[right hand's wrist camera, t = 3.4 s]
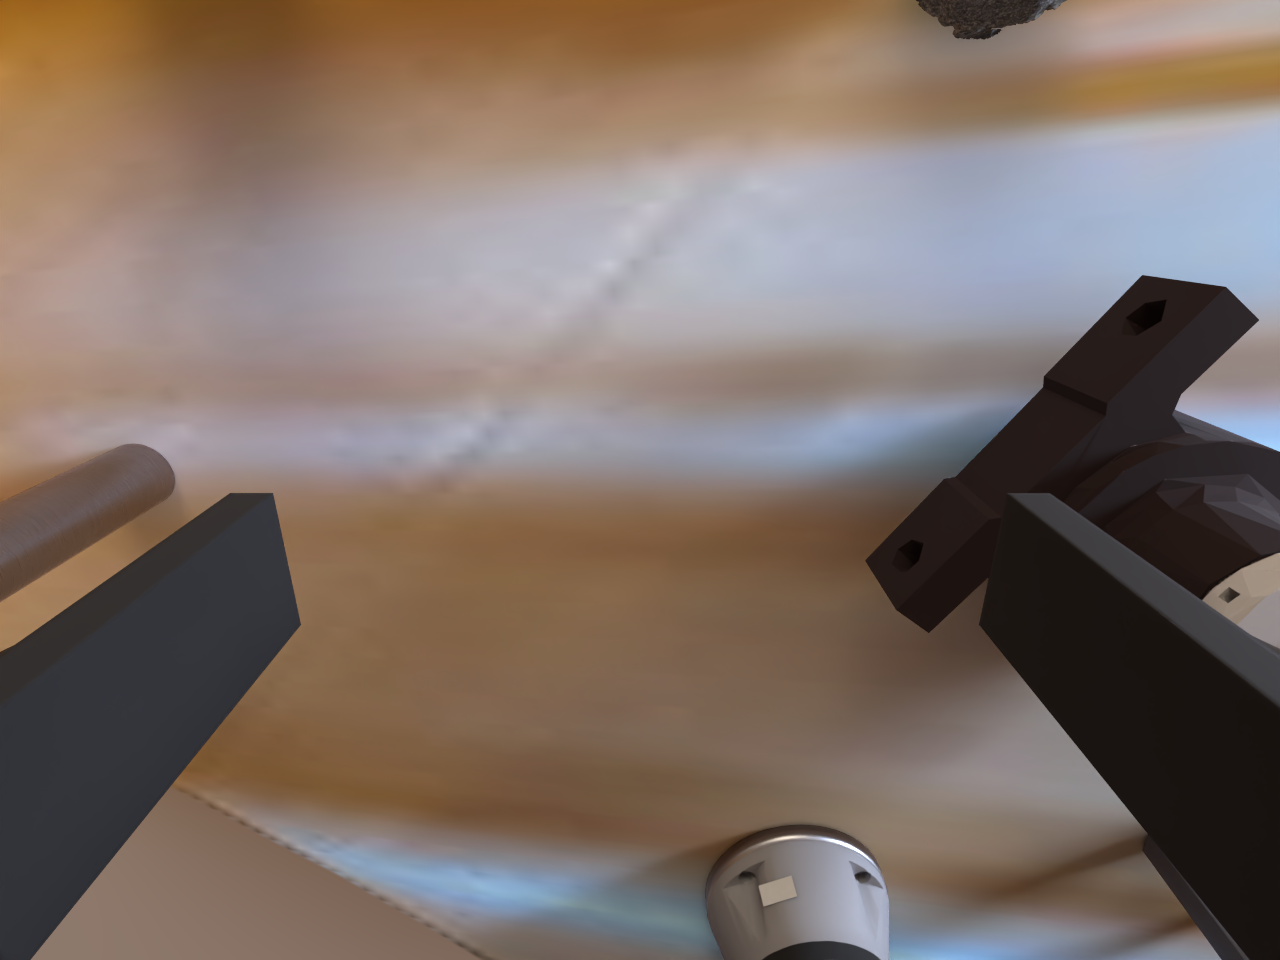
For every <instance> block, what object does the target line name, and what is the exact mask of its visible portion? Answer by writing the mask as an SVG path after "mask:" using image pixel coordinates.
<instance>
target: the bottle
mask: <svg viewBox="0 0 1280 960" xmlns="http://www.w3.org/2000/svg"><path fill="white" fill-rule="evenodd" d="M174 482H175V481H174V474H173V471H172V469H171V467H170V465H169V463H168V462H167V461H166V459H165V458H164V457H163V456H162V455H160V454H159V453H158V452H156V451H155V450H153V449H151V448H149V447H147V446H144V445H139V444H126V445H123V446H120V447H118V448H116V449H113V450H111V451H109V452H107V453H105V454H103V455H101V456H98V457H96V458H94V459H92V460H90V461H88V462H86V463H83V464H81V465H79V466H77V467H75V468H73V469H71V470H68V471H66V472H64V473H62V474H60V475H58V476H55V477H53V478H51V479H49V480H47V481H45V482H43V483H40V484H38V485H36V486H34V487H32V488H30V489H28V490H25V491H23V492H21V493H19V494H17V495H15V496H13V497H10V498H8V499H6V500H4V501H2V502H0V602H1V601H3V600H4V599H6V598H8V597H9V596H11V595H12V594H14V593H16V592H17V591H19V590H21V589H22V588H24V587H25V586H27V585H29V584H30V583H32V582H33V581H35V580H37V579H38V578H40V577H41V576H43V575H45V574H46V573H48V572H49V571H51V570H53V569H54V568H56V567H58V566H59V565H61V564H62V563H64V562H66V561H67V560H69V559H70V558H72V557H74V556H75V555H77V554H78V553H80V552H82V551H83V550H85V549H86V548H88V547H90V546H91V545H93V544H95V543H96V542H98V541H99V540H101V539H103V538H104V537H106V536H107V535H109V534H111V533H112V532H114V531H115V530H117V529H119V528H120V527H122V526H123V525H125V524H127V523H128V522H130V521H132V520H133V519H135V518H136V517H138V516H140V515H141V514H143V513H144V512H146V511H148V510H149V509H151V508H152V507H154V506H156V505H157V504H159V503H160V502H162V501H164V500H165V499H166V498H168V497H169V496H170V494H171V493H172V491H173V488H174Z"/></svg>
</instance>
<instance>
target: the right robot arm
mask: <svg viewBox="0 0 1280 960" xmlns="http://www.w3.org/2000/svg"><path fill="white" fill-rule="evenodd" d="M300 625H301V623H300V618H299V614H298V609H297V604H296V599H295V595H294V590H293V585H292V581H291V576H290V571H289V566H288V562H287V557H286V552H285V548H284V543H283V538H282V533H281V529H280V524H279V519H278V515H277V510H276V505H275V500H274V496H273V493H230V494H228V495H227V496H226V497H224V498H223V499H221V500H220V501H218V502H217V503H216V504H214V505H213V506H211V507H210V508H208V509H207V510H206V511H204V512H203V513H201V514H200V515H199V516H197V517H196V518H194V519H193V520H191V521H190V522H189V523H187V524H186V525H184V526H183V527H182V528H180V529H179V530H177V531H176V532H174V533H173V534H172V535H170V536H169V537H167V538H166V539H165V540H163V541H162V542H160V543H159V544H157V545H156V546H155V547H153V548H152V549H150V550H149V551H147V552H146V553H145V554H143V555H142V556H140V557H139V558H138V559H136V560H135V561H133V562H132V563H130V564H129V565H128V566H126V567H125V568H123V569H122V570H121V571H119V572H118V573H116V574H115V575H113V576H112V577H111V578H109V579H108V580H106V581H105V582H103V583H102V584H101V585H99V586H98V587H96V588H95V589H94V590H92V591H91V592H89V593H88V594H86V595H85V596H84V597H82V598H81V599H79V600H78V601H77V602H75V603H74V604H72V605H71V606H69V607H68V608H67V609H65V610H64V611H62V612H61V613H60V614H58V615H57V616H55V617H54V618H52V619H51V620H50V621H48V622H47V623H45V624H44V625H42V626H41V627H40V628H38V629H37V630H35V631H34V632H33V633H31V634H30V635H28V636H27V637H25V638H24V639H23V640H21V641H20V642H18V643H17V644H16V645H14V646H11V647H9V648H7V649H5V650H3V651H1V652H0V960H31V958H32V957H33V956H34V955H35V953H36V952H37V951H38V950H39V948H40V947H41V946H42V945H43V943H44V942H45V941H46V940H47V939H48V937H49V936H50V935H51V934H52V932H53V931H54V930H55V929H56V927H57V926H58V925H59V924H60V922H61V921H62V920H63V919H64V917H65V916H66V915H67V914H68V912H69V911H70V910H71V909H72V908H73V906H74V905H75V904H76V903H77V901H78V900H79V899H80V898H81V896H82V895H83V894H84V893H85V891H86V890H87V889H88V888H89V887H90V885H91V884H92V883H93V882H94V880H95V879H96V878H97V877H98V875H99V874H100V873H101V872H102V870H103V869H104V868H105V867H106V865H107V864H108V863H109V862H110V860H111V859H112V858H113V857H114V856H115V854H116V853H117V852H118V850H119V849H120V848H121V847H122V846H123V844H124V843H125V842H126V841H127V839H128V838H129V837H130V836H131V834H132V833H133V832H134V831H135V829H136V828H137V827H138V826H139V825H140V823H141V822H142V821H143V820H144V818H145V817H146V816H147V815H148V813H149V812H150V811H151V810H152V808H153V807H154V806H155V805H156V803H157V802H158V801H159V800H160V798H161V797H162V796H163V795H164V793H165V792H166V791H167V790H168V789H169V787H170V786H171V785H172V784H173V782H174V781H175V780H176V779H177V777H178V776H179V775H180V774H181V773H182V771H183V770H184V769H185V768H186V766H187V765H188V764H189V763H190V761H191V760H192V759H193V758H194V756H195V755H196V754H197V753H198V751H199V750H200V749H201V748H202V746H203V745H204V744H205V743H206V742H207V740H208V739H209V738H210V737H211V735H212V734H213V733H214V732H215V730H216V729H217V728H218V727H219V725H220V724H221V723H222V722H223V720H224V719H225V718H226V717H227V716H228V714H229V713H230V712H231V711H232V709H233V708H234V707H235V706H236V704H237V703H238V702H239V701H240V699H241V698H242V697H243V696H244V694H245V693H246V692H247V691H248V690H249V688H250V687H251V686H252V685H253V683H254V682H255V681H256V680H257V678H258V677H259V676H260V675H261V673H262V672H263V671H264V670H265V668H266V667H267V666H268V665H269V663H270V662H271V661H272V660H273V659H274V657H275V656H276V655H277V654H278V652H279V651H280V650H281V649H282V647H283V646H284V645H285V644H286V642H287V641H288V640H289V639H290V637H291V636H292V635H293V634H294V633H295V631H296V630H297V629H298V628H299V626H300ZM979 625H980V626H981V628H982V629H983V630H984V631H985V633H986V634H987V635H988V636H989V637H990V639H991V640H992V641H993V642H994V644H995V645H996V646H997V647H998V649H999V650H1000V651H1001V652H1002V654H1003V655H1004V656H1005V657H1006V659H1007V660H1008V661H1009V662H1010V663H1011V665H1012V666H1013V667H1014V668H1015V670H1016V671H1017V672H1018V673H1019V675H1020V676H1021V677H1022V678H1023V680H1024V681H1025V682H1026V683H1027V685H1028V686H1029V687H1030V688H1031V690H1032V691H1033V692H1034V693H1035V694H1036V696H1037V697H1038V698H1039V699H1040V701H1041V702H1042V703H1043V704H1044V706H1045V707H1046V708H1047V709H1048V711H1049V712H1050V713H1051V714H1052V716H1053V717H1054V718H1055V719H1056V720H1057V722H1058V723H1059V724H1060V725H1061V727H1062V728H1063V729H1064V730H1065V732H1066V733H1067V734H1068V735H1069V737H1070V738H1071V739H1072V740H1073V742H1074V743H1075V744H1076V745H1077V746H1078V748H1079V749H1080V750H1081V751H1082V753H1083V754H1084V755H1085V756H1086V758H1087V759H1088V760H1089V761H1090V763H1091V764H1092V765H1093V766H1094V768H1095V769H1096V770H1097V771H1098V773H1099V774H1100V775H1101V776H1102V777H1103V779H1104V780H1105V781H1106V782H1107V784H1108V785H1109V786H1110V787H1111V789H1112V790H1113V791H1114V792H1115V794H1116V795H1117V796H1118V797H1119V799H1120V800H1121V801H1122V802H1123V803H1124V805H1125V806H1126V807H1127V808H1128V810H1129V811H1130V812H1131V813H1132V815H1133V816H1134V817H1135V818H1136V820H1137V821H1138V822H1139V823H1140V825H1141V826H1142V827H1143V828H1144V830H1145V831H1146V832H1147V833H1148V834H1149V836H1150V837H1151V838H1152V839H1153V841H1154V842H1155V843H1156V844H1157V846H1158V847H1159V848H1160V849H1161V851H1162V852H1163V853H1164V854H1165V856H1166V857H1167V858H1168V859H1169V860H1170V862H1171V863H1172V864H1173V865H1174V867H1175V868H1176V869H1177V870H1178V872H1179V873H1180V874H1181V875H1182V877H1183V878H1184V879H1185V880H1186V882H1187V883H1188V884H1189V885H1190V887H1191V888H1192V889H1193V890H1194V891H1195V893H1196V894H1197V895H1198V896H1199V898H1200V899H1201V900H1202V901H1203V903H1204V904H1205V905H1206V906H1207V908H1208V909H1209V910H1210V911H1211V913H1212V914H1213V915H1214V916H1215V917H1216V919H1217V920H1218V921H1219V922H1220V924H1221V925H1222V926H1223V927H1224V929H1225V930H1226V931H1227V932H1228V934H1229V935H1230V936H1231V937H1232V939H1233V940H1234V941H1235V942H1236V944H1237V945H1238V946H1239V947H1240V948H1241V950H1242V951H1243V952H1244V953H1245V955H1246V956H1247V957H1248V958H1249V960H1280V649H1279V648H1277V647H1275V646H1273V645H1271V644H1269V643H1267V642H1264V641H1262V640H1260V639H1258V638H1256V637H1254V636H1252V635H1250V634H1249V633H1247V632H1246V631H1245V630H1243V629H1242V628H1240V627H1239V626H1238V625H1236V624H1235V623H1233V622H1232V621H1230V620H1229V619H1228V618H1226V617H1225V616H1223V615H1222V614H1220V613H1219V612H1218V611H1216V610H1215V609H1213V608H1212V607H1211V606H1209V605H1208V604H1206V603H1205V602H1203V601H1202V600H1201V599H1199V598H1198V597H1196V596H1195V595H1194V594H1192V593H1191V592H1189V591H1188V590H1186V589H1185V588H1184V587H1182V586H1181V585H1179V584H1178V583H1177V582H1175V581H1174V580H1172V579H1171V578H1169V577H1168V576H1167V575H1165V574H1164V573H1162V572H1161V571H1159V570H1158V569H1157V568H1155V567H1154V566H1152V565H1151V564H1150V563H1148V562H1147V561H1145V560H1144V559H1142V558H1141V557H1140V556H1138V555H1137V554H1135V553H1134V552H1133V551H1131V550H1130V549H1128V548H1127V547H1125V546H1124V545H1123V544H1121V543H1120V542H1118V541H1117V540H1115V539H1114V538H1113V537H1111V536H1110V535H1108V534H1107V533H1106V532H1104V531H1103V530H1101V529H1100V528H1098V527H1097V526H1096V525H1094V524H1093V523H1091V522H1090V521H1089V520H1087V519H1086V518H1084V517H1083V516H1081V515H1080V514H1079V513H1077V512H1076V511H1074V510H1073V509H1072V508H1070V507H1069V506H1067V505H1066V504H1064V503H1063V502H1062V501H1060V500H1059V499H1057V498H1056V497H1054V496H1053V495H1052V494H1050V493H1007V496H1006V500H1005V505H1004V510H1003V515H1002V519H1001V524H1000V529H999V533H998V538H997V543H996V548H995V552H994V557H993V562H992V566H991V571H990V576H989V581H988V585H987V590H986V595H985V599H984V604H983V609H982V614H981V618H980V623H979ZM706 906H707V915H708V920H709V923H710V926H711V929H712V932H713V935H714V937H715V939H716V941H717V944H718V946H719V948H720V951H721V953H722V955H723V957H724V960H890V953H889V901H888V893H887V888H886V884H885V881H884V879H883V876H882V873H881V870H880V867H879V865H878V863H877V861H876V859H875V858H874V856H873V855H872V853H871V852H870V851H869V850H868V849H867V848H866V847H865V846H864V845H863V844H861V843H860V842H859V841H857V840H856V839H854V838H852V837H851V836H849V835H847V834H844V833H842V832H839V831H837V830H833V829H830V828H826V827H820V826H813V825H789V826H781V827H776V828H771V829H767V830H764V831H761V832H758V833H756V834H753V835H751V836H749V837H747V838H745V839H743V840H741V841H739V842H738V843H736V844H735V845H733V846H732V847H731V848H729V849H728V850H727V851H726V852H725V853H724V854H723V855H722V856H721V857H720V858H719V859H718V860H717V862H716V863H715V865H714V866H713V868H712V870H711V872H710V874H709V876H708V879H707V883H706Z"/></svg>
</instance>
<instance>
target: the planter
mask: <svg viewBox="0 0 1280 960" xmlns="http://www.w3.org/2000/svg"><path fill="white" fill-rule="evenodd" d="M1143 852H1144V853H1145V855H1146V856H1147V857H1148V859H1149V860H1150V861H1151V863H1152V864H1153V866H1154V867H1155V868H1156V870H1157V871H1158V872H1159V874H1160V875H1161V877H1162V878H1163V879H1164V881H1165V882H1166V883H1167V885H1168V886H1169V888H1170V889H1171V890H1172V892H1173V893H1174V894H1175V896H1176V897H1177V899H1178V900H1179V901H1180V903H1181V904H1182V905H1183V907H1184V908H1185V910H1186V911H1187V912H1188V914H1189V915H1190V917H1191V918H1192V919H1193V921H1194V922H1195V923H1196V925H1197V926H1198V928H1199V929H1200V930H1201V932H1202V933H1203V934H1204V936H1205V937H1206V939H1207V940H1208V941H1209V943H1210V944H1211V945H1212V947H1213V948H1214V950H1215V951H1216V952H1217V954H1218V955H1219V957H1220V958H1221V959H1222V960H1249V958H1248V957H1247V956H1246V955H1245V953H1244V952H1243V951H1242V950H1241V948H1240V947H1239V946H1238V945H1237V944H1236V942H1235V941H1234V940H1233V939H1232V937H1231V936H1230V935H1229V934H1228V932H1227V931H1226V930H1225V929H1224V927H1223V926H1222V925H1221V924H1220V922H1219V921H1218V920H1217V919H1216V917H1215V916H1214V915H1213V914H1212V913H1211V911H1210V910H1209V909H1208V908H1207V906H1206V905H1205V904H1204V903H1203V901H1202V900H1201V899H1200V898H1199V896H1198V895H1197V894H1196V893H1195V891H1194V890H1193V889H1192V888H1191V887H1190V885H1189V884H1188V883H1187V882H1186V880H1185V879H1184V878H1183V877H1182V875H1181V874H1180V873H1179V872H1178V870H1177V869H1176V868H1175V867H1174V865H1173V864H1172V863H1171V862H1170V860H1169V859H1168V858H1167V857H1166V856H1165V854H1164V853H1163V852H1162V851H1161V849H1160V848H1159V847H1158V846H1157V844H1156V843H1155V842H1154V841H1153V839H1152V838H1151V837H1150V836H1149V835H1148V837H1147V840H1146V842H1145V845H1144V848H1143Z"/></svg>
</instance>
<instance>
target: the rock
mask: <svg viewBox="0 0 1280 960" xmlns="http://www.w3.org/2000/svg"><path fill="white" fill-rule="evenodd" d="M916 1H919V6H920V7H922V9H924V11H926V12H927V13H929V14H931V15H932V16H933V17H936V16H937V17H938V20H939V22H940V23H941V25H943V26H953V27H954V29H955V30H954V31H953V35H954V36H955V37H956V38H963V39H965V38H966V39H970V38H971V39H972V38H974V39H980V38H981V39H986V38H987V39H988V38H990V37H991V36H992V37H993V36H994V35H995V34H998V32H999V33H1000V31H1002V30H1001V29H997V30H995V29H991V28H1003V27H1006V26H1011V25H1016V24H1023V23H1028V22H1029V21H1032V20H1035V19H1037V18H1038V17H1039V16H1040V15H1041V14H1043V12H1044V10H1051V9H1054V10H1055V9H1056V8H1057V7H1058V6H1060V4H1061V3H1062V2H1064V1H1066V0H916ZM990 29H991V30H990Z"/></svg>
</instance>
